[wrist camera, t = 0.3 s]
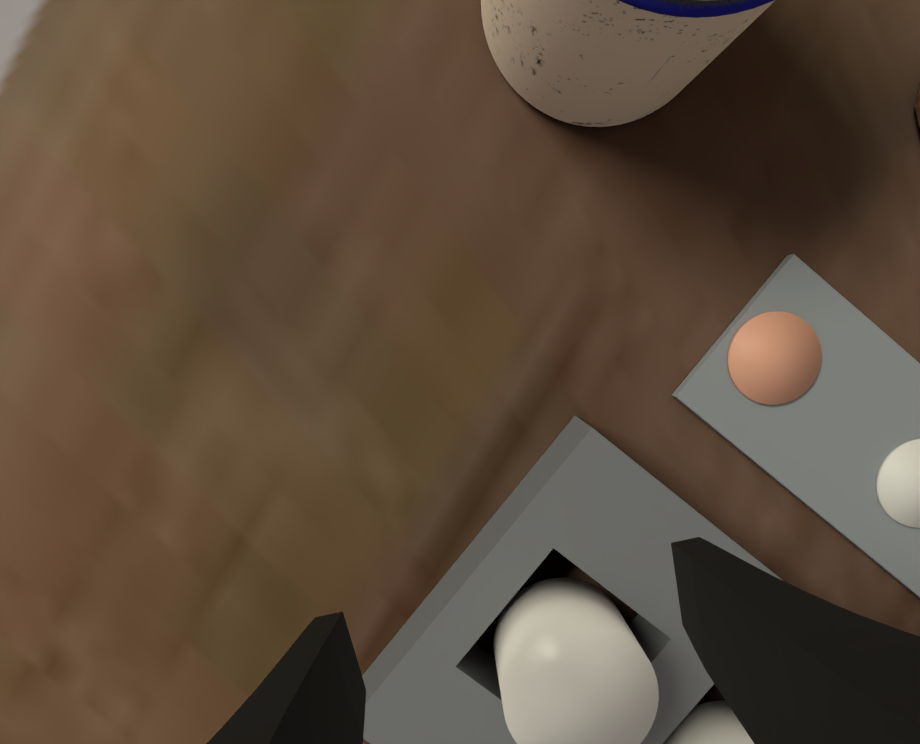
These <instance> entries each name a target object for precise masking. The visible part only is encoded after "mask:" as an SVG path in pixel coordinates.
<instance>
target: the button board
mask: <svg viewBox="0 0 920 744" xmlns="http://www.w3.org/2000/svg"><path fill="white" fill-rule="evenodd" d="M696 537H700V538H702V539H704V540H707V541H708V542H710V543H712V544H714V545H716V546H718V547H720V548H722V549H724V550H725V551H727V552H729V553H731V554H733V555H735V556H736V557H738V558H740V559H742V560H744V561H746V562H748V563H749V564H751V565H753V566H755V567H757V568H759V569H761V570H763V571H765V572H767V573H769V574H771V575H772V576H774V577H776V578H778V579H780V578H779V577H778V576H777V575H775V574H774V573H773V572H772V571H770V570H769V569H768V568H767V567H765V566H764V565H763V564H762V563H760V562H759V561H758V560H757V559H755V558H754V557H753V556H752V555H750V554H749V553H748V552H747V551H745V550H744V549H743V548H742V547H740V546H739V545H738V544H737V543H735V542H734V541H733V540H732V539H730V538H729V537H728V536H727V535H726V534H724V533H723V532H722V531H721V530H719V529H718V528H717V527H716V526H714V525H713V524H712V523H711V522H709V521H708V520H707V519H706V518H704V517H703V516H702V515H701V514H699V513H698V512H697V511H696V510H694V509H693V508H692V507H691V506H689V505H688V504H687V503H686V502H684V501H683V500H682V499H681V498H679V497H678V496H677V495H676V494H674V493H673V492H672V491H671V490H669V489H668V488H667V487H666V486H664V485H663V484H662V483H661V482H659V481H658V480H657V479H656V478H654V477H653V476H652V475H651V474H649V473H648V472H647V471H646V470H644V469H643V468H642V467H641V466H639V465H638V464H637V463H636V462H634V461H633V460H632V459H631V458H629V457H628V456H627V455H626V454H624V453H623V452H622V451H621V450H619V449H618V448H617V447H616V446H614V445H613V444H612V443H611V442H610V441H608V440H607V439H606V438H605V437H603V436H602V435H601V434H600V433H598V432H597V431H596V430H595V429H593V428H592V427H591V426H589V425H588V424H586V423H585V422H584V421H582V420H581V419H579V418H578V417H577V416H574V417H573V419H572V420H571V421H570V422H569V423H568V425H567V426H566V427H565V428H564V430H563V431H562V432H561V433H560V434H559V436H558V437H557V438H556V439H555V441H554V442H553V443H552V444H551V445H550V447H549V448H548V449H547V450H546V452H545V453H544V454H543V455H542V456H541V458H540V459H539V460H538V461H537V463H536V464H535V465H534V466H533V467H532V469H531V470H530V471H529V472H528V474H527V475H526V476H525V477H524V478H523V480H522V481H521V482H520V483H519V485H518V486H517V487H516V488H515V489H514V491H513V492H512V493H511V494H510V496H509V497H508V498H507V499H506V501H505V502H504V503H503V504H502V505H501V507H500V508H499V509H498V510H497V512H496V513H495V514H494V515H493V516H492V518H491V519H490V520H489V521H488V523H487V524H486V525H485V526H484V527H483V529H482V530H481V531H480V532H479V534H478V535H477V536H476V537H475V538H474V540H473V541H472V542H471V543H470V545H469V546H468V547H467V548H466V549H465V551H464V552H463V553H462V554H461V556H460V557H459V558H458V559H457V560H456V562H455V563H454V564H453V565H452V567H451V568H450V569H449V570H448V571H447V573H446V574H445V575H444V576H443V578H442V579H441V580H440V581H439V582H438V584H437V585H436V586H435V587H434V589H433V590H432V591H431V592H430V593H429V595H428V596H427V597H426V598H425V600H424V601H423V602H422V603H421V605H420V606H419V607H418V608H417V609H416V611H415V612H414V613H413V614H412V616H411V617H410V618H409V619H408V620H407V622H406V623H405V624H404V625H403V627H402V628H401V629H400V630H399V631H398V633H397V634H396V635H395V636H394V638H393V639H392V640H391V641H390V642H389V644H388V645H387V646H386V647H385V649H384V650H383V651H382V652H381V653H380V655H379V656H378V657H377V658H376V660H375V661H374V662H373V663H372V664H371V666H370V667H369V668H368V669H367V671H366V672H365V673H364V674H363V675H362V678H363V681H364V685H365V688H366V703H365V721H364V733H363V739H365V740H366V741H368V742H369V743H370V744H517V743H516V742H515V740H514V739H513V737H512V735H511V733H510V731H509V729H508V727H507V724H506V721H505V717H504V711H503V705H502V699H501V692H500V686H499V680H498V673H497V667H496V661H495V658H493V657H492V656H491V655H489V654H488V653H487V652H485V651H484V650H483V649H481V648H480V647H479V646H477V645H476V644H475V642H476V641H477V640H478V639H479V638H480V636H481V635H482V634H483V633H484V632H485V630H486V629H487V628H488V627H489V625H490V624H491V623H492V622H493V621H494V619H495V618H496V617H497V616H498V615H499V613H500V612H501V611H502V610H503V609H504V607H505V606H506V605H507V604H508V603H509V601H510V600H511V599H512V598H513V596H514V595H515V594H516V593H517V592H518V590H519V589H520V588H521V587H522V586H523V584H524V583H525V582H526V581H527V580H528V578H529V577H530V576H531V575H532V574H533V572H534V571H535V570H536V569H537V568H538V566H539V565H540V564H541V563H542V561H543V560H544V559H545V558H546V557H547V555H548V554H549V553H550V552H551V551H552V549H553V548H554V549H555V550H557V551H558V552H559V553H560V554H562V555H563V556H564V557H566V558H567V559H568V560H569V561H571V562H572V563H573V564H575V565H576V566H577V567H579V568H580V569H581V570H582V571H584V572H585V573H586V574H588V575H589V576H590V577H592V578H593V579H594V580H595V581H597V582H598V583H599V584H601V585H602V586H603V587H604V588H606V589H607V590H608V591H610V592H611V593H612V594H614V595H615V596H616V597H617V598H619V599H620V600H621V601H623V602H624V603H625V604H626V605H628V606H629V607H630V608H632V609H633V610H634V611H636V612H637V613H638V615H637V616H636V617H635V618H634V619H633V620H632V622H631V623H630V624H629V625H628V626H629V628H630V630H631V631H632V633H633V635H634V636H635V638H636V640H637V641H638V643H639V644H640V646H641V648H642V649H643V651H644V653H645V654H646V656H647V658H648V659H649V661H650V663H651V665H652V667H653V669H654V671H655V675H656V678H657V683H658V689H659V701H658V709H657V713H656V717H655V720H654V722H653V724H652V727H651V729H650V730H649V732H648V734H647V736H646V737H645V738H644V740H643V741H642V742H641V744H663V743H664V741H665V740H666V739H667V738H668V737H669V736H670V735H671V733H672V732H673V731H674V730H675V729H676V728H677V726H678V725H679V724H680V723H681V722H682V721H683V719H684V718H685V717H686V716H687V715H688V714H689V712H690V711H691V710H692V709H693V708H694V707H695V706H696V704H697V703H698V702H699V701H700V700H701V699H702V697H703V696H704V695H705V694H706V693H707V692H708V690H709V689H710V688H711V687H712V686H713V685H714V682H713V681H712V679H711V678H710V676H709V675H708V673H707V672H706V670H705V668H704V666H703V664H702V662H701V661H700V659H699V657H698V655H697V653H696V651H695V649H694V647H693V645H692V643H691V641H690V639H689V637H688V635H687V633H686V631H685V629H684V627H683V625H682V618H681V611H680V604H679V597H678V590H677V583H676V576H675V569H674V562H673V554H672V547H671V543H672V542H677V541H682V540H686V539H691V538H696ZM780 580H782V579H780ZM782 581H783V580H782Z"/></svg>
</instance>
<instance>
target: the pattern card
mask: <svg viewBox="0 0 920 744" xmlns="http://www.w3.org/2000/svg"><path fill="white" fill-rule="evenodd" d="M672 396H673V397H674V398H676V399H677V400H678V401H679V402H680V403H682V404H683V405H684V406H685V407H686V408H688V409H689V410H690V411H691V412H693V413H694V414H695V415H696V416H697V417H699V418H700V419H701V420H702V421H704V422H705V423H706V424H707V425H708V426H710V427H711V428H712V429H713V430H714V431H716V432H717V433H718V434H719V435H721V436H722V437H723V438H724V439H725V440H727V441H728V442H729V443H730V444H732V445H733V446H734V447H735V448H736V449H738V450H739V451H740V452H741V453H743V454H744V455H745V456H746V457H747V458H749V459H750V460H751V461H752V462H753V463H755V464H756V465H757V466H758V467H760V468H761V469H762V470H763V471H764V472H766V473H767V474H768V475H769V476H771V477H772V478H773V479H774V480H775V481H777V482H778V483H779V484H780V485H781V486H783V487H784V488H785V489H786V490H788V491H789V492H790V493H791V494H792V495H794V496H795V497H796V498H797V499H799V500H800V501H801V502H802V503H803V504H805V505H806V506H807V507H808V508H809V509H811V510H812V511H813V512H814V513H816V514H817V515H818V516H819V517H820V518H822V519H823V520H824V521H825V522H827V523H828V524H829V525H830V526H831V527H833V528H834V529H835V530H836V531H838V532H839V533H840V534H841V535H842V536H844V537H845V538H846V539H847V540H848V541H850V542H851V543H852V544H853V545H855V546H856V547H857V548H858V549H859V550H861V551H862V552H863V553H864V554H866V555H867V556H868V557H869V558H870V559H872V560H873V561H874V562H875V563H876V564H878V565H879V566H880V567H881V568H883V569H884V570H885V571H886V572H887V573H889V574H890V575H891V576H892V577H894V578H895V579H896V580H897V581H898V582H900V583H901V584H902V585H903V586H904V587H906V588H907V589H908V590H909V591H911V592H912V593H913V594H914V595H915V596H917V597H918V598H919V599H920V363H919V362H917V361H916V360H915V359H914V358H913V357H912V356H911V355H909V354H908V353H907V352H906V351H905V350H904V349H902V348H901V347H900V346H899V345H898V344H897V343H896V342H894V341H893V340H892V339H891V338H890V337H889V336H888V335H886V334H885V333H884V332H883V331H882V330H881V329H880V328H878V327H877V326H876V325H875V324H874V323H873V322H871V321H870V320H869V319H868V318H867V317H866V316H865V315H863V314H862V313H861V312H860V311H859V310H858V309H857V308H855V307H854V306H853V305H852V304H851V303H850V302H849V301H847V300H846V299H845V298H844V297H843V296H842V295H840V294H839V293H838V292H837V291H836V290H835V289H834V288H832V287H831V286H830V285H829V284H828V283H827V282H826V281H824V280H823V279H822V278H821V277H820V276H819V275H818V274H816V273H815V272H814V271H813V270H812V269H811V268H809V267H808V266H807V265H806V264H805V263H804V262H803V261H801V260H800V259H799V258H798V257H797V256H796V255H795V254H791V255H787V256H786V257H785V259H784V260H783V261H782V262H781V263H780V265H779V266H778V267H777V268H776V269H775V271H774V272H773V273H772V274H771V275H770V277H769V278H768V279H767V280H766V282H765V283H764V284H763V285H762V286H761V288H760V289H759V290H758V291H757V292H756V294H755V295H754V296H753V297H752V298H751V300H750V301H749V302H748V303H747V305H746V306H745V307H744V308H743V309H742V311H741V312H740V313H739V314H738V315H737V317H736V318H735V319H734V320H733V321H732V323H731V324H730V325H729V326H728V327H727V329H726V330H725V331H724V332H723V334H722V335H721V336H720V337H719V338H718V340H717V341H716V342H715V343H714V344H713V346H712V347H711V348H710V349H709V350H708V352H707V353H706V354H705V355H704V357H703V358H702V359H701V360H700V361H699V363H698V364H697V365H696V366H695V367H694V369H693V370H692V371H691V372H690V373H689V375H688V376H687V377H686V378H685V379H684V381H683V382H682V383H681V384H680V386H679V387H678V388H677V389H676V390H675V392H674V393H673V394H672Z"/></svg>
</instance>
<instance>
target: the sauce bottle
mask: <svg viewBox="0 0 920 744" xmlns="http://www.w3.org/2000/svg"><path fill="white" fill-rule="evenodd" d="M919 85H920V84H919ZM914 109H915V111H916V114H917V121H918V124H919V128H920V89H919V91H918V94H917V98H916V102H915V107H914Z"/></svg>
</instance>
